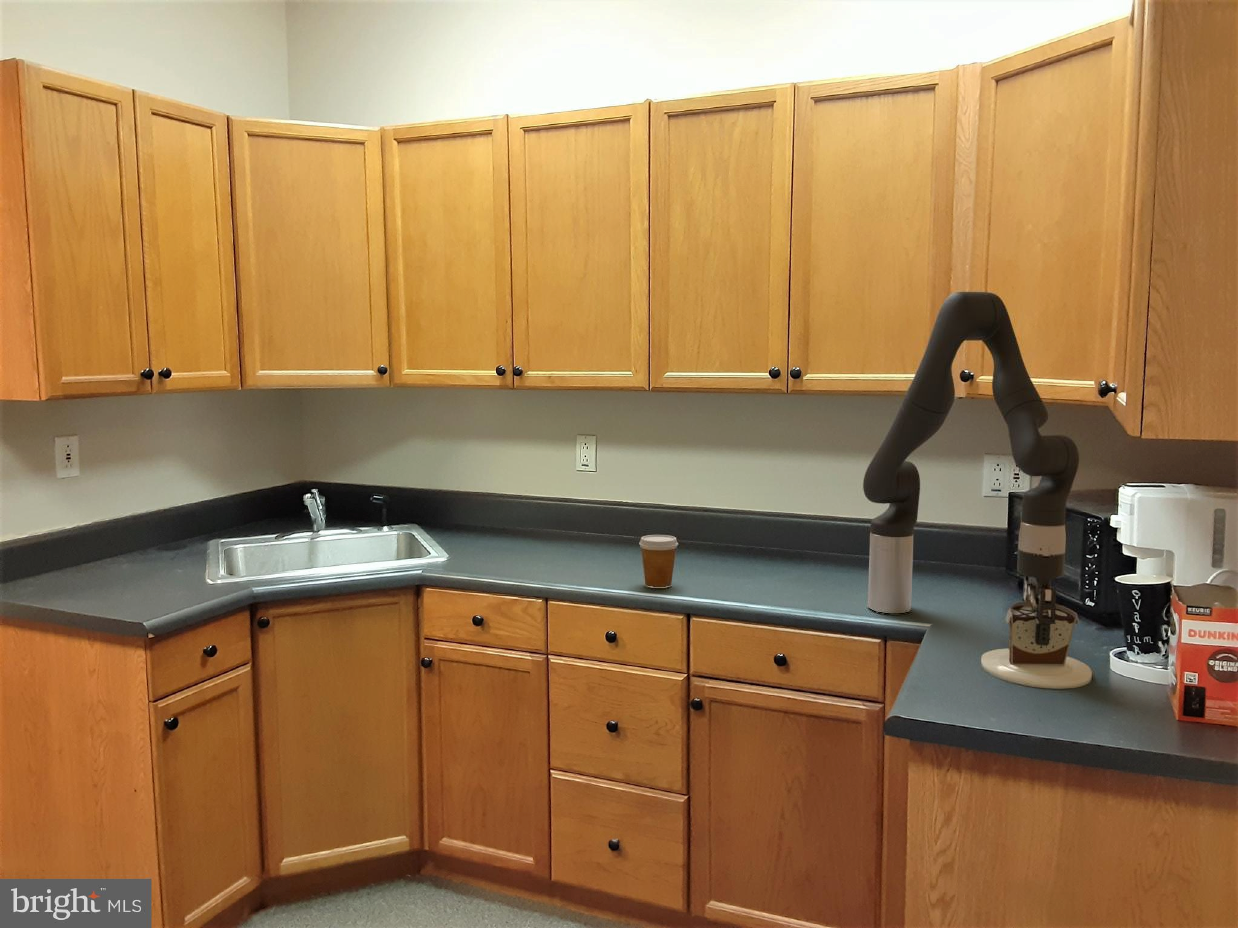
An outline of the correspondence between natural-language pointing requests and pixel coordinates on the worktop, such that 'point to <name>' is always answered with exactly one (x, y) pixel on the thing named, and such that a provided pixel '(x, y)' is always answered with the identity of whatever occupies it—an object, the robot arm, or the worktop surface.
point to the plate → (1036, 672)
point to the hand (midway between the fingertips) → (1036, 637)
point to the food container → (1024, 636)
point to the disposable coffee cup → (658, 559)
